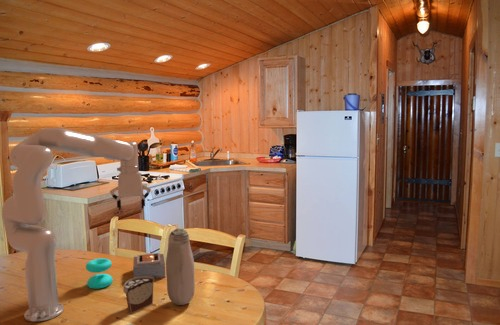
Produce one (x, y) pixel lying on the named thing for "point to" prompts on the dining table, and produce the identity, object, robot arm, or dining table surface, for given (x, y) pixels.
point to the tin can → (148, 257)
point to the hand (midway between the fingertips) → (131, 208)
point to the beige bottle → (180, 268)
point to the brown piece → (139, 292)
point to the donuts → (99, 279)
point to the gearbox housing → (149, 266)
